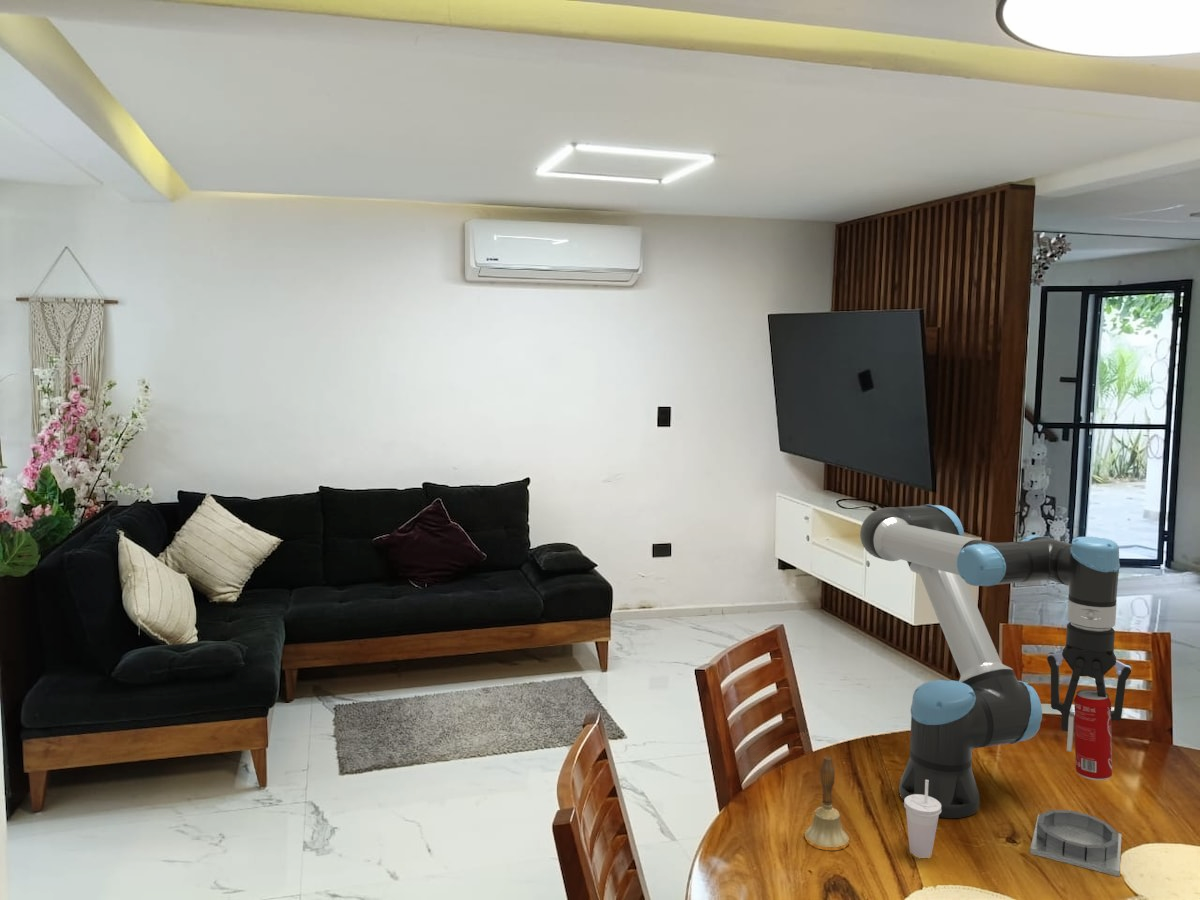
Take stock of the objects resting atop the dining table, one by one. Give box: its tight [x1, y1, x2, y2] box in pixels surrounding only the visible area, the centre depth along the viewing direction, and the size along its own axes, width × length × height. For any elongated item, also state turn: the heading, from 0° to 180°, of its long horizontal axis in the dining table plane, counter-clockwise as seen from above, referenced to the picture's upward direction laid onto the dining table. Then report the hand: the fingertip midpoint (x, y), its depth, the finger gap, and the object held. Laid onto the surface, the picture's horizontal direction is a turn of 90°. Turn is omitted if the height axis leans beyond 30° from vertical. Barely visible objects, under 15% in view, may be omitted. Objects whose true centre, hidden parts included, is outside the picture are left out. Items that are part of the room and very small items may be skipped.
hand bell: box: [804, 755, 850, 847], centre depth 167 cm, size 8×8×16 cm
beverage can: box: [1073, 688, 1113, 781], centre depth 162 cm, size 6×6×15 cm
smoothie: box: [903, 780, 941, 859], centre depth 163 cm, size 6×6×14 cm
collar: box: [1029, 809, 1122, 878], centre depth 165 cm, size 14×14×4 cm
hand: (1083, 750), depth 163 cm, fingers closed on beverage can, 4 cm apart
